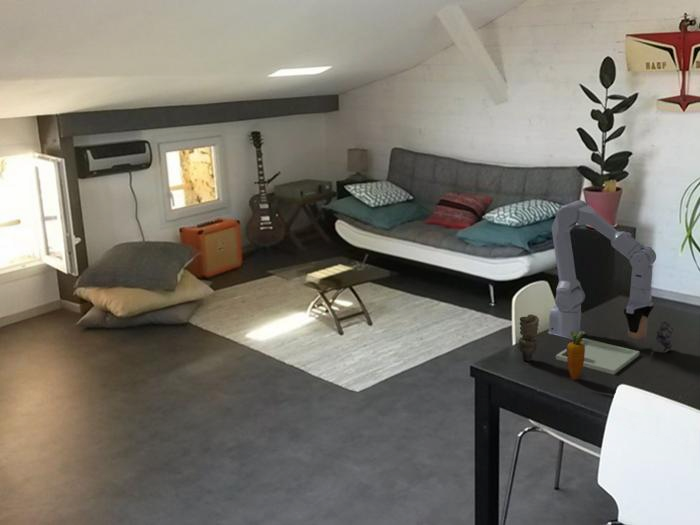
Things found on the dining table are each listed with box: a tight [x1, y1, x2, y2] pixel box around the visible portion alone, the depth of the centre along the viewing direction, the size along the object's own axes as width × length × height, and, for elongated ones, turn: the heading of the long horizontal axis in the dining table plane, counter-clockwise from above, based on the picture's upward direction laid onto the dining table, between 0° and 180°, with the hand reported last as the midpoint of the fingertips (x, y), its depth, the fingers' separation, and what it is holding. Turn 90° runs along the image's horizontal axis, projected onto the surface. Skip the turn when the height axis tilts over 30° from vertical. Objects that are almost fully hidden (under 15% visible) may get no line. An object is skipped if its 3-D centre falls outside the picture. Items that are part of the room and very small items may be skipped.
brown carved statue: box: [518, 314, 540, 362], centre depth 216 cm, size 6×6×15 cm
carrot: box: [566, 331, 585, 381], centre depth 202 cm, size 5×5×15 cm
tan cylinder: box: [627, 316, 649, 340], centre depth 222 cm, size 5×5×6 cm
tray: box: [555, 337, 640, 375], centre depth 218 cm, size 18×18×2 cm
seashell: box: [655, 320, 676, 353], centre depth 221 cm, size 5×5×10 cm
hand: (637, 329), depth 223 cm, fingers closed on tan cylinder, 5 cm apart
